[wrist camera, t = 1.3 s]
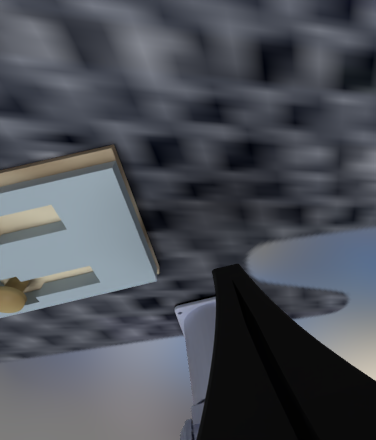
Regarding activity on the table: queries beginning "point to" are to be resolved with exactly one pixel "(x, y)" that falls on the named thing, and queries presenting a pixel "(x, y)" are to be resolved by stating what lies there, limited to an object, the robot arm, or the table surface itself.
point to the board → (49, 216)
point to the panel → (76, 236)
